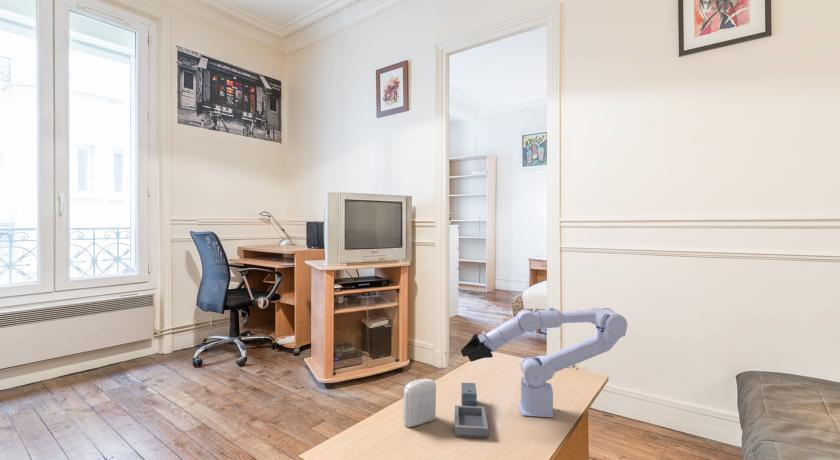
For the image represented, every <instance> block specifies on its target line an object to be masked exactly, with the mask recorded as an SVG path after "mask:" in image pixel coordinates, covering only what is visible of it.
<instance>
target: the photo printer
mask: <svg viewBox="0 0 840 460" xmlns="http://www.w3.org/2000/svg"><path fill="white" fill-rule="evenodd" d="M436 398H437V385H436V383H435V380H433V379H431V378H421V379H416V380H414V381H411V382H409V383H407V384H406V385H405V386H404V388H403V405H402V406H403V410H402V413H403V414H402V419H403V421H402V422H403V426H405V427H407V428H412V427H416V426H418V425H419V426H420V425H423V424H426V423H428V422H432V421H434V420H436V408H437V407H436V405H437V404H436V401H437V400H436Z"/></svg>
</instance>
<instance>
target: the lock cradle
mask: <svg viewBox="0 0 840 460" xmlns="http://www.w3.org/2000/svg"><path fill="white" fill-rule="evenodd" d="M454 435H455V436H454V437H455V438H468V439H469V438H470V439H484V440H485V439H487V440H488V439H489V425H488V420H487V414H486V409H485V406H478V405H477V406H462V405H460V404H459V405H458V404H457V405H456V404H455V405H454Z"/></svg>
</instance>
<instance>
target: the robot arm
mask: <svg viewBox="0 0 840 460" xmlns="http://www.w3.org/2000/svg"><path fill="white" fill-rule="evenodd" d="M571 323H572V324H575V323H577V324H578V323H579V324H581V323H591V324H593V325H595V330H594V333H593V336H591V337H589V338H587V339H584V340H582V341H580V342H577V343H575V344H572V345H569V346H567V347H565V348H562V349H560V350H558V351H555V352H553V353H550V354H548V355H543V354H541V355H537V356H527V357H525V358H524V359H522V361H521V363H520V368H521V372H522V374H523V376H522V377H521V378H520V379H521V380H520V383H521V384H520V401H518V402H517V406H518V408H519V412H520V414H521V416H524V417H538V418H540V417H543V418H554V415H553V414H554V413H553V412H554V390H553V386H552V384H551V383H550V382H548V381H549V380H551V379H553V378H554V376H555V374H556V372H559V371H562V370H564V369H566V368H569V367H571V366H574V365H577V364H579V363H581V362H584V361H586V360H589V359H592V358H594V357H597V356H598V355H599V356H600V355H601V354H604V353H607V352H608V351H610V350H612V348H613V347H614V346H615V345H616V343H617V342H618V341H620V339H621V338H624V337H625V336H626V335H627V334H626V333H627V330H628V321H627V319H626V318H625V316H623V315H621V314H618V313H617V312H615V311H614V310H612V309H611V308H609V307H603V308H600V307H594V308H586V309H579V310H576V309H575V310H569V311H560V310H559V309H558V308H554V307H553V306H549V307H547V309H546V308H545V309H536V308H533V309H532V310H529V309H522V310H521V309H520V310H518V312H517V313H516V316H513V317H512V318H511V319H508V320H506V321H504V322H503V323H501V324H499V325H498V326H497V327H495V328H493V329H491V330H490V331H488V332H487V333H486V331H485V330H482V331H481V332H482V333H481V334H480V335H479V334H477V333H474V334H473V335H472V337H471V339H470V340H469V341H468V342H467V344H465V346H463V347H462V349H460V353H461V356H462V357H464V358H465V357H467V358H468V359H469V361H470V362H471V363H472V362H475V361H478V360H482V359H487V358H488V359H489V358H493V357H494V355H493V353H494V352H496V351H498V349H500V348H502V347H503V346H505V345H506V344H509V343H510V342H512V341H513V340H515V339H517V338H518V337H520V336H521V335H523V334H525V333H526V332H528V333H533V332H535V331H536V330H542V329H553V328H561V326H562V325H563V324H571Z"/></svg>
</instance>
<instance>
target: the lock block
mask: <svg viewBox="0 0 840 460" xmlns="http://www.w3.org/2000/svg"><path fill="white" fill-rule="evenodd" d="M460 389H461V393H460V396H461V399H460V400H461V401H460V402H461V406H478V405H477V404H478V402H477V400H478V399H477V398H478V395H477V394H478V392H477V387H476V382H461V387H460Z"/></svg>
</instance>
